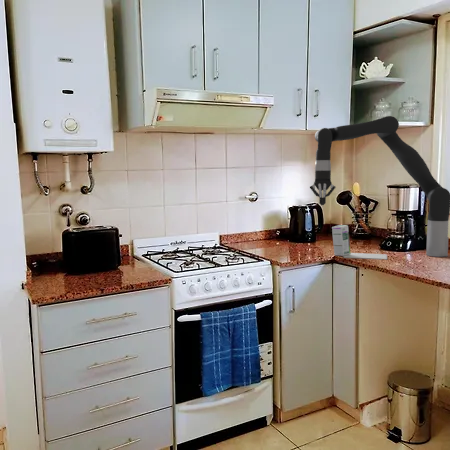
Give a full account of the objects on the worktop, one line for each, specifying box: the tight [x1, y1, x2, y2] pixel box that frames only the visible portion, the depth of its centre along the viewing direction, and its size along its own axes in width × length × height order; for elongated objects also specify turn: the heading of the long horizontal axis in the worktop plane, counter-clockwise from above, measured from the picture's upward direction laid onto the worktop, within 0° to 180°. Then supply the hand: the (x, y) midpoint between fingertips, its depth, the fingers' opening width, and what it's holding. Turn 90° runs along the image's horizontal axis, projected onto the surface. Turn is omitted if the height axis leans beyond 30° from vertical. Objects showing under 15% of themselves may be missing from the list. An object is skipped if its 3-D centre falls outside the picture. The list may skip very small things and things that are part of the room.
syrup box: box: [331, 224, 351, 257], centre depth 232 cm, size 6×6×14 cm
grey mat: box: [342, 252, 388, 261], centre depth 229 cm, size 20×12×1 cm, turn 72°
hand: (322, 204), depth 233 cm, fingers closed
